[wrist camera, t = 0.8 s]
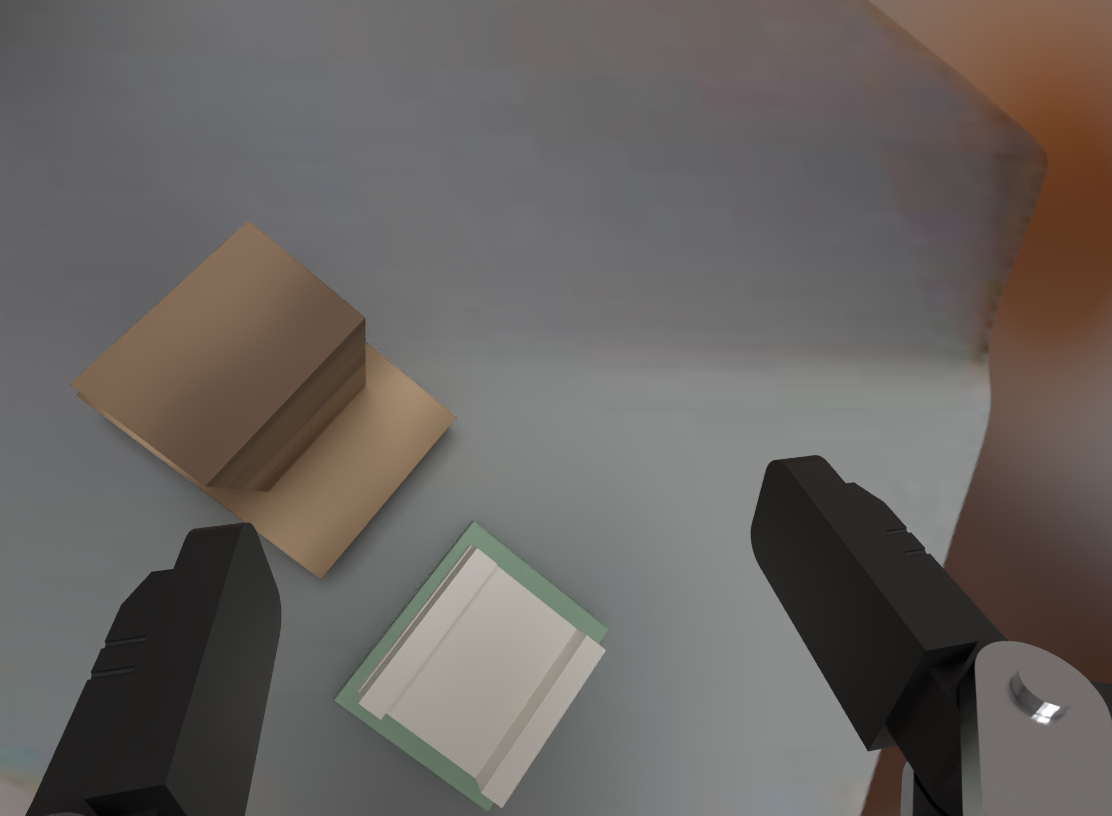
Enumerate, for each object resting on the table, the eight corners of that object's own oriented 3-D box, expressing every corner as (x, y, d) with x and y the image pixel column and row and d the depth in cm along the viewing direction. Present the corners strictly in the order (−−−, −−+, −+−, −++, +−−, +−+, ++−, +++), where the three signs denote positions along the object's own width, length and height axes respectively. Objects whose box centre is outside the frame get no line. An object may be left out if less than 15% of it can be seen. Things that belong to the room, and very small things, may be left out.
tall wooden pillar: (189, 430, 26) (69, 383, 15) (293, 325, 28) (248, 220, 17) (268, 491, 26) (204, 486, 16) (365, 385, 28) (365, 317, 18)
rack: (358, 687, 29) (357, 702, 27) (468, 544, 31) (476, 547, 29) (492, 786, 30) (502, 808, 28) (590, 640, 32) (606, 650, 30)
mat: (334, 697, 29) (333, 700, 28) (472, 521, 32) (473, 521, 31) (486, 808, 30) (487, 812, 30) (606, 628, 33) (608, 629, 32)
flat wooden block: (105, 405, 28) (76, 395, 25) (254, 264, 30) (243, 240, 28) (324, 571, 29) (320, 579, 27) (448, 424, 32) (456, 417, 29)
